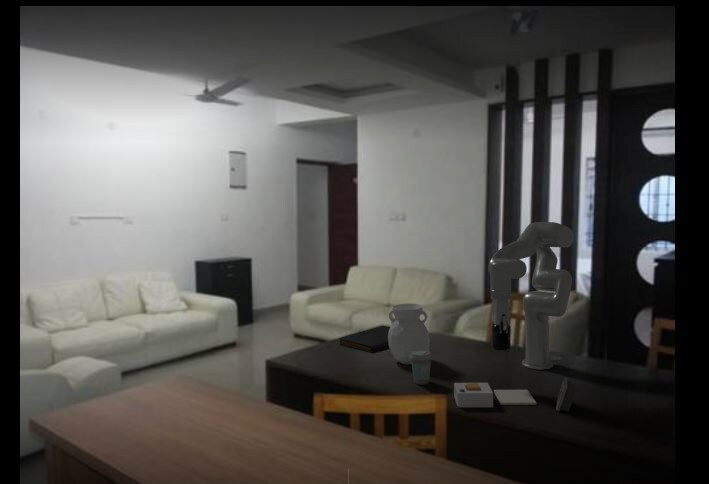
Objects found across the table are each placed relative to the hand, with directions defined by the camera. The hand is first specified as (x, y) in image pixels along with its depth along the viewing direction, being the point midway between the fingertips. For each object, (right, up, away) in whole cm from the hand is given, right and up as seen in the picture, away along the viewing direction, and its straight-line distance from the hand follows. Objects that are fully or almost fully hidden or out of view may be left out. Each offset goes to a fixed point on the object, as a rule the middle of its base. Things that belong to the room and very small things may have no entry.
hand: (501, 340), depth 192 cm
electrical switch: (+16, -19, -20) cm, 32 cm away
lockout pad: (+2, -19, -11) cm, 22 cm away
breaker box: (-14, -19, -13) cm, 27 cm away
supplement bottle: (0, -3, 0) cm, 3 cm away
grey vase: (-31, -16, +35) cm, 49 cm away
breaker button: (-14, -18, -13) cm, 26 cm away
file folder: (-43, -15, +69) cm, 83 cm away
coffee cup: (-29, -18, +9) cm, 35 cm away
